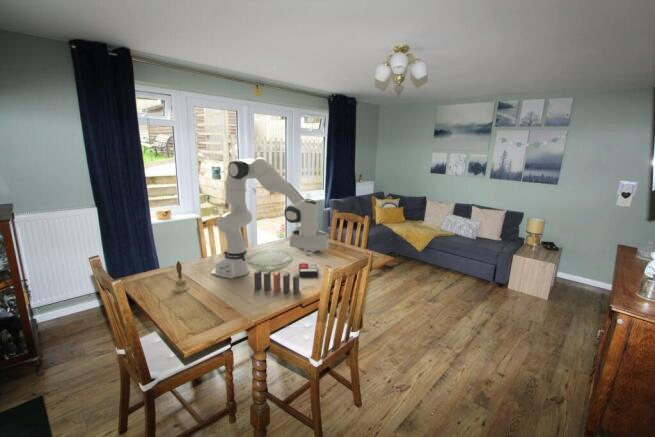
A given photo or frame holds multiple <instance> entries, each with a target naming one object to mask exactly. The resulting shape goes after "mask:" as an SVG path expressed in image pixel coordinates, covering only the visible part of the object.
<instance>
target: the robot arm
mask: <svg viewBox="0 0 655 437" xmlns="http://www.w3.org/2000/svg"><path fill="white" fill-rule="evenodd" d="M249 179H256V180H257V181H258V183H259V184H260V186H261V187H262V188H263V189H265V190H266V191H268V192H271V193H277V194H278V193H279V194H281V195H284V196H285V197H286V198H288V199H289V201H290V202H291V203H292V204H290V205H288V206H286V207H285V209H284V212H283V213H284V218H285V219H286V221H287V222H288V223H291V224H299V225H301V226H297V227H295V228H293V229H292V230H291V235H290V238H289V246H290V248H295V249H296V248H297V249H302V248H304V249H303V251H304V252H305V256H306V257H311V258H312V257H313V253H314V252H313V251H314V249H320V250H323V251H326V250H328V249H329V239H330V234H329V233H328V232H327V231H321V230H320V231H319V229H318V228H319V224H318V218H319V209H318V203H317V202H316V201H315V200H314V199H311V198H304V197H303V196H302V195H301V194H300V193H299V192H298V190H296V188H295V187H293V185H292V184H291V183H290V182H288V181H287V180H286V178H285V179H284V178H283V176H281V175H280V174H279V172H278V171H277V170H276V169H275V167H274V166H273V165H272V164H271V163H270V162H269V161H268V160H267V159H266V158H264V157H258V158H242V159H234V160H232V161H230V163H229V164H228V166H227V174H226V179H225V202H226V203H227V204H228V205H229V206H230V211H229V212H225V213H223V214H221V215H220V216H219V217H218V218H216V227H217V229H218V230H219V231H220V232H221V233H223V235H224V237H225V241H226V250H225V251H224V252H223V253H222V256H223V257H221V258H220V259H219V260H218V261H217V262H216V263H215V267H214V268H213V270H212V271H211V275H214V276H218V277H224V278H228V279H234V278H237V277H242V276H243V277H244V276H245V275H247V274H248V273H250V269H249V266H248V261H247V260H248V254H247V253H248V252H247V248H246V246H247V245H246V244H247V243H246V237H245V236H244V235H242V234H241V228H243V227H246V226H247V225H248V224H251V222H252V219H253V216H252V213H251V211H250V210H249V209H248V207H247V202H246V187H247V186H246V183H247V182H246V181H247V180H249ZM307 249H311V251H308V250H307Z"/></svg>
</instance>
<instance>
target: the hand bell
mask: <svg viewBox="0 0 655 437" xmlns="http://www.w3.org/2000/svg"><path fill="white" fill-rule="evenodd" d="M175 268H176V271H177V277H178V278H177V279H176V281H175V286H174V287H173V289H172V291H173V292H174V293H184V292H186V290H187V291H188V290H190V288H191V287H190V285H188V284H187V282H186V279H185V278H183V276H182V269H183V268H182V264H181V262H180V261H179V260H178V261H176V266H175Z"/></svg>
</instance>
